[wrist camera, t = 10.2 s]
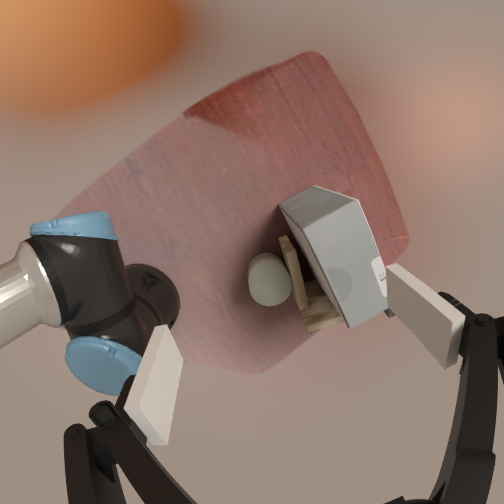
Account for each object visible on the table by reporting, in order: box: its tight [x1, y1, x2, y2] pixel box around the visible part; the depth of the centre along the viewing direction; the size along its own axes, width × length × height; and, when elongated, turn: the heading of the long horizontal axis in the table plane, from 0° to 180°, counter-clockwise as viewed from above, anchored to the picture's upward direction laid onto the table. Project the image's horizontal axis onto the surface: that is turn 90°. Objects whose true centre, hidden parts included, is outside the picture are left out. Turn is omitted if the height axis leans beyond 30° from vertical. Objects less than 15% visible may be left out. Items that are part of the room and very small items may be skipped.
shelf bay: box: [278, 235, 395, 333], centre depth 45 cm, size 14×11×17 cm
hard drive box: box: [278, 185, 389, 329], centre depth 43 cm, size 16×8×20 cm, turn 29°
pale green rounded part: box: [247, 253, 292, 306], centre depth 51 cm, size 7×7×7 cm
